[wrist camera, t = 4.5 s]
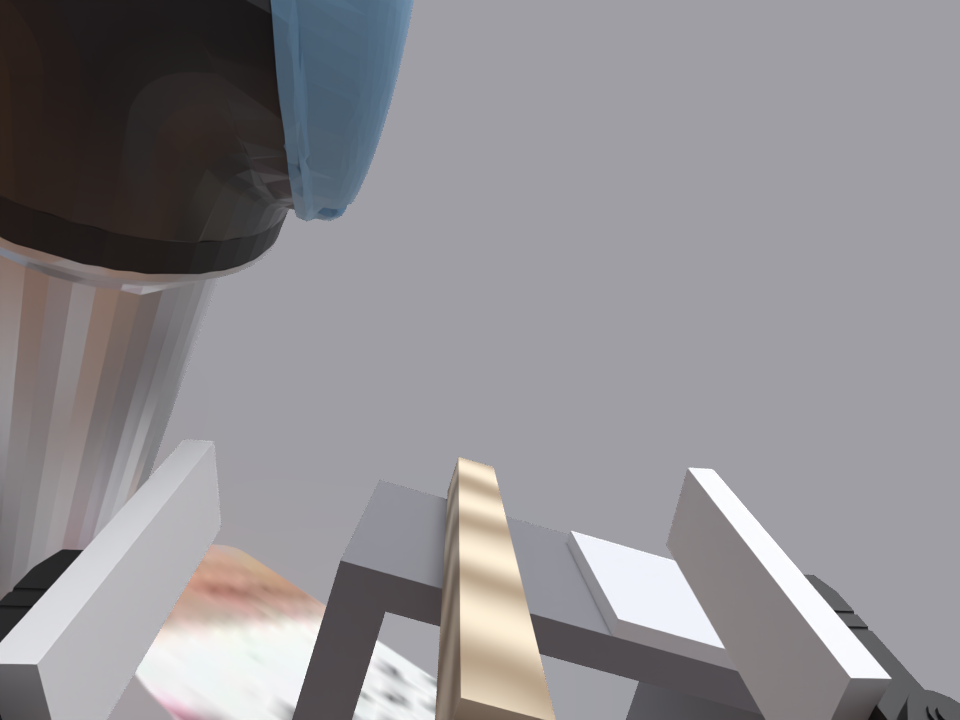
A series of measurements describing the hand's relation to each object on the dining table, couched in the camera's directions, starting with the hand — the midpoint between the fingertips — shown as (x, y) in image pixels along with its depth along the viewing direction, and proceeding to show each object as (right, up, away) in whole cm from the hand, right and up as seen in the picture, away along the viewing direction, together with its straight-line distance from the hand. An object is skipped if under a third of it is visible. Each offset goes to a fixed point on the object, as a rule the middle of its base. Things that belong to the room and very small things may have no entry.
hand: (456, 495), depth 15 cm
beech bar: (0, -8, +15) cm, 17 cm away
